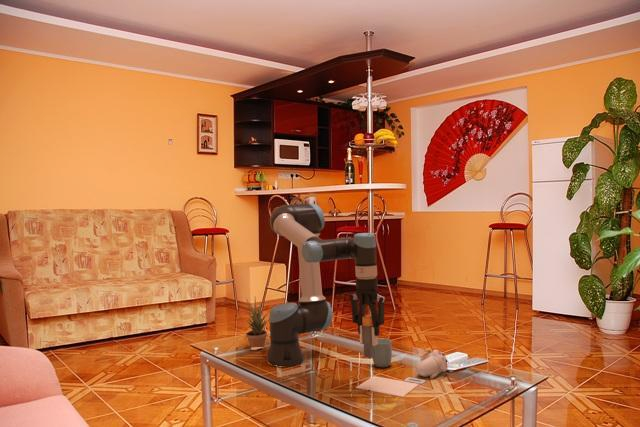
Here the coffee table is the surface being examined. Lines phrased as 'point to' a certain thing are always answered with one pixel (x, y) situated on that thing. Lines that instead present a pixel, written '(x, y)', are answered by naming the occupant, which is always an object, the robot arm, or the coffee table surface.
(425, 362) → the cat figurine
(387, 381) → the paper
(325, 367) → the coffee table surface
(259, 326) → the potted plant
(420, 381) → the plate
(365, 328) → the marker
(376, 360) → the cup
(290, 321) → the robot arm
